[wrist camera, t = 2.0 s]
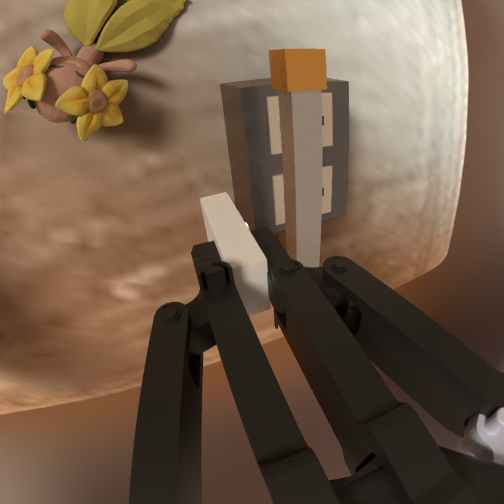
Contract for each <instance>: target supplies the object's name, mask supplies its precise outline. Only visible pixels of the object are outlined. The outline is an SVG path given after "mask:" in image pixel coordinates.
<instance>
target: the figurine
mask: <svg viewBox="0 0 504 504" xmlns="http://www.w3.org/2000/svg"><path fill="white" fill-rule="evenodd" d="M185 1H186V0H130V1H128V2H127V3H125V4H124V5H122V6H121V7H120V8H119V9H118V10H117V11H116V12H115V13H114V14H113V15H112V17H111V18H110V19H109V20H108V22H107V23H106V25H105V27H104V28H103V30H102V32H101V34H100V37H99V39H98V42H97V44H96V43H93V42H94V41H95V39H96V37H97V35H98V34H99V32H100V30H101V28H102V27H103V25H104V23H105V22H106V20H107V19H108V17H109V16H110V14H111V13H112V11H113V10H114V8H115V6H116V4H117V2H118V0H69V1H68V2H67V4H66V7H65V11H64V19H65V24H66V26H67V28H68V30H69V31H70V32H71V34H72V35H73V36H74V37H75V38H76V39H77V40H79V41H80V42H81V43H82V44H83V46H82V47H81V49H80V50H79V52H78V54H77V55H76V57H75V56H72V54H71V52H70V50H69V48H68V47H67V45H66V44H65V42H64V41H63V40H62V38H61V37H60V36H59V35H58V34H57V33H55V32H53V31H51V30H50V29H49V30H44V31H43V32H42V33H41V35H40V37H41V39H42V40H44V41H45V42H47V43H48V44H50V45H51V46H52V47H54V48H55V49H56V50H57V51H59V52H60V53H61V54H62V55H63V56H61V57H57V58H54V59H52V57H53V54H54V49H47V50H44V51H42V52H41V53H39V54H38V52H37V50H36V48H35V47H34V46H33V45H32V46H31V47H29V48H28V49H27V50H26V51H25V52H24V54H23V55H22V56H21V58H20V60H19V61H18V64H17V68H16V69H14V70H13V71H12V72H10V73H8V74H7V75H6V76H5V77H4V78H3V84H4V86H5V88H6V89H7V90H8V94H7V101H6V106H5V113H7V112H9V111H11V110H12V109H13V108H14V107H15V106H16V105H17V104H18V103H19V102H20V101H21V99H22V98H23V99H26V98H27V99H28V103H29V105H30V107H31V108H33V109H34V108H37V110H38V112H39V113H40V114H41V115H42V116H43V117H44V118H45V119H47V120H49V121H52V122H55V123H61V122H67V121H71V122H70V123H74V124H76V125H77V130H78V135H79V137H80V139H81V141H82V142H85V141H86V140H87V139H88V138H89V137H90V136H91V135H93V134H94V133H95V132H96V131H97V130H98V129H99V128H100V127H101V126H104V127H106V126H117V125H119V124H122V123H123V117H122V114H121V111H120V108H119V105H118V104H119V103H120V102H121V101H123V99H124V97H125V95H126V92H127V90H128V80H124V79H123V80H110V81H108V82H107V80H108V78H107V76H106V73H105V72H104V71H120V72H132V71H134V70H135V69H136V68H137V64H136V63H135V61H133V60H128V59H123V60H117V61H111V62H106V63H102V64H99V65H97V64H98V63H99V62H100V61H101V60H102V59H103V56H104V52H131V51H136V50H140V49H143V48H145V47H148V46H150V45H152V44H153V43H155V42H156V41H158V40H159V39H160V38H161V34H162V33H163V32H165V31H166V29H167V28H168V27H169V23H171V22H172V21H173V19H174V17H176V16H178V15H179V14H180V11H182V10H184V2H185Z"/></svg>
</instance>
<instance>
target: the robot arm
mask: <svg viewBox="0 0 504 504" xmlns="http://www.w3.org/2000/svg"><path fill="white" fill-rule="evenodd" d="M200 202H201V207H202V212H203V217H204V222H205V227H206V232H207V237H208V241H209V242H206V243H202V244H198V245H194V246H193V249H192V252H191V255H192V258H193V262H194V266H195V270H196V274H197V278H198V281H199V285H200V291H199V294H198V295H197V297H196V298H195V299H194V300H192V301H191V302H189V303H188V304H186V305H184V304H182V303H180V302H170V303H166V304H165V305H163V306H161V307H160V308H159V309H158V310H157V311H156V313H155V315H154V320H153V325H152V330H151V335H150V340H149V346H148V351H147V357H146V363H145V368H144V374H143V381H142V387H141V394H140V400H139V407H138V415H137V423H136V431H135V440H134V449H133V458H132V469H131V483H130V497H129V504H202V481H201V425H202V424H201V423H202V421H201V420H202V378H203V377H202V376H203V352H205V351H206V350H208V349H210V348H211V347H213V346H215V345H216V344H217V347H218V351H219V354H220V357H221V360H222V363H223V366H224V369H225V373H226V376H227V379H228V382H229V385H230V388H231V391H232V394H233V397H234V400H235V403H236V406H237V409H238V411H239V414H240V417H241V420H242V423H243V426H244V428H245V431H246V434H247V437H248V439H249V442H250V445H251V448H252V450H253V453H254V455H255V458H256V461H257V463H258V466H259V469H260V471H261V474H262V477H263V479H264V481H265V484H266V487H267V489H268V491H269V494H270V497H271V499H272V502H273V504H504V373H502V372H499V371H497V370H495V369H494V368H493V367H492V366H491V365H489V364H488V363H487V362H486V361H485V360H483V359H482V358H481V357H479V356H478V355H477V354H476V353H475V352H473V351H472V350H471V349H470V348H468V347H467V346H466V345H465V344H463V343H462V342H461V341H459V340H458V339H457V338H456V337H455V336H453V335H452V334H451V333H449V332H448V331H447V330H446V329H444V328H443V327H442V326H440V325H439V324H438V323H437V322H435V321H434V320H433V319H431V318H430V317H429V316H427V315H426V314H425V313H423V312H422V311H421V310H419V309H418V308H417V307H415V306H414V305H413V304H411V303H410V302H409V301H407V300H406V299H405V298H403V297H402V296H401V295H399V294H398V293H397V292H395V291H394V290H392V289H391V288H390V287H388V286H387V285H386V284H384V283H383V282H381V281H380V280H379V279H377V278H376V277H374V276H373V275H372V274H370V273H369V272H367V271H366V270H365V269H363V268H362V267H360V266H359V265H357V264H356V263H355V262H353V261H352V260H350V259H348V258H346V257H342V256H333V257H330V258H328V259H326V260H325V261H324V264H323V267H304V266H303V264H302V263H300V262H299V261H297V260H294V259H291V257H290V256H289V255H288V253H287V252H286V250H285V249H284V248H283V246H282V245H281V243H280V242H279V241H278V239H276V236H275V235H274V234H273V232H272V231H270V230H268V229H267V228H265V227H263V228H259V229H255V230H251V231H250V230H249V229H248V227H247V225H246V224H245V222H244V221H243V219H242V217H241V216H240V214H239V212H238V211H237V209H236V207H235V206H234V204H233V202H232V201H231V199H230V197H229V196H228V194H227V193H226V192H225V193H220V194H216V195H212V196H207V197H203V198H200ZM270 301H271V303H272V305H273V307H274V321H275V328H276V329H277V328H278V324H279V326H280V328H281V330H282V332H283V334H284V336H285V338H286V340H287V342H288V344H289V346H290V348H291V350H292V352H293V354H294V356H295V358H296V360H297V362H298V364H299V366H300V368H301V369H302V371H303V373H304V375H305V377H306V379H307V381H308V383H309V385H310V387H311V389H312V391H313V393H314V395H315V397H316V399H317V401H318V402H319V404H320V406H321V408H322V410H323V412H324V414H325V416H326V418H327V420H328V422H329V424H330V426H331V428H332V429H333V432H334V433H335V435H336V437H337V439H338V441H339V443H340V445H341V447H342V450H343V456H344V460H345V463H346V465H347V467H348V469H349V471H350V473H351V475H352V476H349V477H345V478H340V479H335V480H330V481H329V480H328V479H327V477H326V474H325V472H324V470H323V468H322V466H321V464H320V462H319V460H318V458H317V457H316V455H315V453H314V452H313V450H312V449H311V448H310V447H309V446H308V445H307V444H306V442H305V440H304V438H303V436H302V434H301V432H300V429H299V427H298V425H297V423H296V421H295V419H294V417H293V414H292V412H291V410H290V408H289V406H288V404H287V401H286V399H285V397H284V395H283V393H282V391H281V388H280V386H279V384H278V382H277V379H276V377H275V375H274V373H273V370H272V368H271V366H270V364H269V362H268V359H267V357H266V355H265V352H264V350H263V348H262V346H261V343H260V341H259V339H258V337H257V334H256V332H255V330H254V327H253V325H252V323H251V320H250V318H249V316H248V315H251V314H255V313H258V312H261V311H265V310H268V309H270ZM370 360H371V361H372V362H373V363H374V364H375V365H376V366H377V367H378V368H380V369H381V370H382V371H383V372H384V373H385V374H386V375H387V376H388V377H389V378H390V379H391V380H393V381H394V382H395V383H396V384H397V385H398V386H399V387H400V388H401V389H402V390H403V391H405V392H406V393H407V394H408V395H409V396H410V397H411V398H412V399H413V400H415V401H416V402H417V403H418V404H419V405H420V406H421V407H422V408H423V409H424V410H425V411H427V412H428V413H429V414H430V415H431V416H432V417H433V418H434V419H435V420H436V421H438V422H439V423H440V424H441V425H443V426H444V427H445V428H446V429H448V430H450V431H451V432H453V433H454V434H457V435H459V436H461V437H463V440H462V443H461V447H462V449H463V450H464V451H465V452H472V453H473V454H474V455H475V456H476V457H473V456H469V455H466V454H463V453H459V452H456V451H453V450H450V449H447V448H444V447H441V446H438V445H437V443H436V442H435V440H434V439H433V437H432V436H431V434H430V433H429V431H428V429H427V428H426V426H425V425H424V423H423V422H422V420H421V419H420V417H419V416H418V414H417V413H416V411H415V410H414V409H413V408H412V406H411V405H409V404H408V403H405V402H399V401H398V400H397V399H396V398H395V397H394V396H393V394H392V393H391V391H390V389H389V388H388V387H387V385H386V383H385V382H384V381H383V379H382V378H381V376H380V374H379V373H378V371H377V370H376V369H375V367H374V366H373V364H372V363H371V361H370Z"/></svg>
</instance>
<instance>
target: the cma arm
mask: <svg viewBox="0 0 504 504" xmlns="http://www.w3.org/2000/svg"><path fill="white" fill-rule="evenodd" d="M269 59H270V70H271V82H272V89H277V90H278V100H279V114H280V130H281V146H282V163H283V183H284V205H285V230H286V252H287V253H288V255H289V256H290V257H291V259H294V260H297V261H299V262H300V263H302V264H303V266H304V267H319V262H320V242H321V216H322V100H321V90H327V76H326V57H325V49H279V50H269Z"/></svg>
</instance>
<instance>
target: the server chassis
mask: <svg viewBox="0 0 504 504" xmlns="http://www.w3.org/2000/svg"><path fill="white" fill-rule="evenodd" d="M220 86H221V94H222V102H223V110H224V118H225V126H226V134H227V142H228V150H229V158H230V165H231V173H232V181H233V188H234V196H235V204H236V208H237V209H238V211H239V212H240V214H241V215H242V217H243V218H244V220H245V222H246V223H247V225H248V226H249V228H250V229H251V230H255V229H259V228H263V227H265V228H267V229H268V230H270V231H272V232H273V233H276V232H280V231H284V230H285V205H284V183H283V163H282V146H281V130H280V114H279V100H278V90H277V89H272V82H271V78H268V79H257V80H247V81H239V82H231V83H224V84H220ZM321 100H322V216H321V221H323V220H327V219H331V218H335V217H339V216H342V215H345V206H346V191H347V171H348V142H349V83H348V81H343V80H337V79H330V78H327V90H321Z"/></svg>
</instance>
